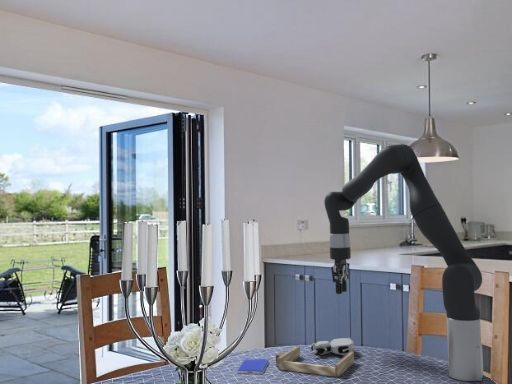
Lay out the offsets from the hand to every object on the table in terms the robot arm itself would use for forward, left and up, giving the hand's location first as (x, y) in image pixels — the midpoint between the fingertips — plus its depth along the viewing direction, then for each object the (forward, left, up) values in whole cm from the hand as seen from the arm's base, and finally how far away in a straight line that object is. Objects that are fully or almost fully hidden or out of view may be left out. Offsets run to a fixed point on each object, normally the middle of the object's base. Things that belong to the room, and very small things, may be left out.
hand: (341, 292), depth 195 cm
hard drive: (+18, +36, -20) cm, 45 cm away
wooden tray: (+1, +27, -19) cm, 33 cm away
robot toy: (0, +11, -20) cm, 23 cm away
